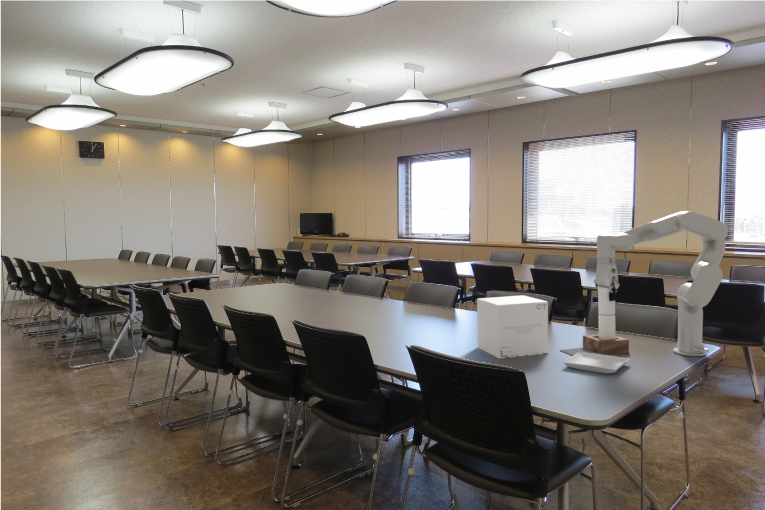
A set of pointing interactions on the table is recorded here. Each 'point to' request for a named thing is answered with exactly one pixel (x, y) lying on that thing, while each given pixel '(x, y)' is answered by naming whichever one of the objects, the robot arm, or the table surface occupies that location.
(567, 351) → the mat
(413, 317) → the table surface
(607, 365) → the salad plate
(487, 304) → the cube
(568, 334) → the table surface
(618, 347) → the collar
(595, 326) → the table surface
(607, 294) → the cylindrical container
